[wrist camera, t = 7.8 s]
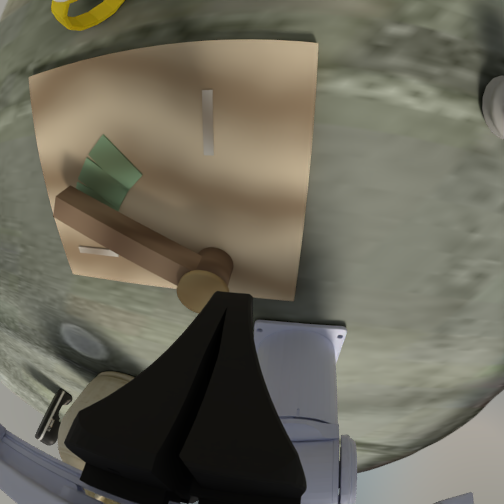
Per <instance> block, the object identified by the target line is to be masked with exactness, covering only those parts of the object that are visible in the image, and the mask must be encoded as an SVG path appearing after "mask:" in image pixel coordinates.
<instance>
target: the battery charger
mask: <svg viewBox="0 0 504 504" xmlns="http://www.w3.org/2000/svg"><path fill="white" fill-rule="evenodd" d="M71 401H72V397H71V396H70V395H68V394H67V393H65V391H62V390H61V389H60V390H59V391H58V392H57V393H56V394H55V396H54V398H53V400H52V402H51V404H50V405H49V407H48V409H47V411H46V413H45V415H44V418H43V420H42V422H41V424H40V426H39V428H38V430H37V432H36V435H35V437H36V438H37V440H39V441H41V442H43V443H44V444H46V445H53V444H54V443H55V442H56V441H57V439H58V432H59V427H60V424H61V423H60V422H59V419H60V418H59V415H58V414H59V410H60V408H61V406H62V405H68V404H69V403H70V402H71Z"/></svg>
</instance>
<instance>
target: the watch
mask: <svg viewBox="0 0 504 504" xmlns="http://www.w3.org/2000/svg"><path fill="white" fill-rule="evenodd" d="M75 1H77V0H52V5H51V9H52V10H51V11H52V13H53V15H54V16H55V18H56V19H57V20H58V21H59V22H60V23H61V24H62V25H63V26H65V27H66V28H67V29H69V30H78V31H81V30H85V29H87V28H90V27H92V26H95V25H98V23H101V22H103V21H104V20H105V19H107V18H108V17H110V16H111V15H113V14H114V13H115V12H116V11H117V10H118V8H119V7H120V6H121V5H122V3H123V2H124V1H125V0H104V1H103V2H102V3H100V4H99V5H97V6H96V7H94V8H93V9H92V10H90V11H89V12H87V13H84V14H81V15H78V16H76V17H68V16H67V14H68V9H69V4H70V3H73V2H75Z"/></svg>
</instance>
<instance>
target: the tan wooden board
mask: <svg viewBox="0 0 504 504" xmlns="http://www.w3.org/2000/svg"><path fill="white" fill-rule="evenodd" d="M317 62H318V43H313V42H301V41H286V40H259V39H237V40H210V41H195V42H184V43H174V44H165V45H158V46H151V47H144V48H138V49H132V50H127V51H121V52H116V53H111V54H107V55H102V56H98V57H94V58H90V59H86V60H82V61H78V62H74V63H71V64H67V65H64V66H61V67H57V68H54V69H51V70H48V71H45V72H42V73H39V74H36V75H33V76H31V77H29V86H30V97H31V105H32V113H33V121H34V127H35V134H36V140H37V145H38V151H39V156H40V161H41V166H42V170H43V175H44V179H45V183H46V187H47V192H48V195H49V199H50V203H51V207H52V210H53V213H54V205H55V198H56V196H57V195H58V194H59V193H61V192H62V191H63V190H65V189H66V188H67V187H69V186H70V185H71V186H73V187H74V188H76V189H78V190H80V191H82V192H83V193H85V194H87V195H89V196H91V197H92V198H94V199H96V200H98V201H100V202H101V203H103V204H105V205H107V206H109V207H111V208H112V209H114V210H116V211H118V212H120V213H122V214H123V215H125V216H127V217H129V218H131V219H133V220H135V221H136V222H138V223H140V224H142V225H144V226H146V227H148V228H150V229H151V230H153V231H155V232H157V233H159V234H161V235H163V236H165V237H167V238H168V239H170V240H172V241H174V242H176V243H178V244H180V245H182V246H184V247H186V248H188V249H189V250H191V251H193V252H195V253H197V254H198V252H199V251H201V250H202V249H204V248H208V247H214V248H219V249H221V250H223V251H225V252H226V253H227V254H228V255H229V256H230V257H231V259H232V261H233V270H232V274H231V277H230V281H229V284H228V288H229V291H230V292H233V293H245V294H250V295H251V296H252V297H253V298H264V299H274V300H285V301H294V297H295V290H296V283H297V275H298V268H299V260H300V252H301V244H302V236H303V228H304V219H305V210H306V201H307V191H308V181H309V171H310V160H311V149H312V137H313V125H314V111H315V97H316V81H317ZM55 221H56V224H57V228H58V231H59V234H60V237H61V240H62V243H63V247H64V250H65V252H66V255H67V258H68V261H69V264H70V267H71V269H72V272H73V274H77V275H83V276H90V277H96V278H102V279H109V280H116V281H122V282H129V283H136V284H144V285H151V286H158V287H166V288H174V289H177V286H176V285H175V284H173V283H171V282H169V281H167V280H165V279H163V278H161V277H159V276H157V275H155V274H153V273H151V272H150V271H148V270H146V269H144V268H142V267H140V266H138V265H137V264H135V263H133V262H131V261H129V260H127V259H125V258H124V257H122V256H120V255H118V254H116V253H115V252H113V251H111V250H109V249H107V248H106V247H104V246H102V245H100V244H99V243H97V242H95V241H93V240H92V239H90V238H88V237H86V236H85V235H83V234H81V233H80V232H78V231H76V230H74V229H73V228H71V227H69V226H68V225H66V224H64V223H63V222H61V221H59V220H58V219H56V218H55Z"/></svg>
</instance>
